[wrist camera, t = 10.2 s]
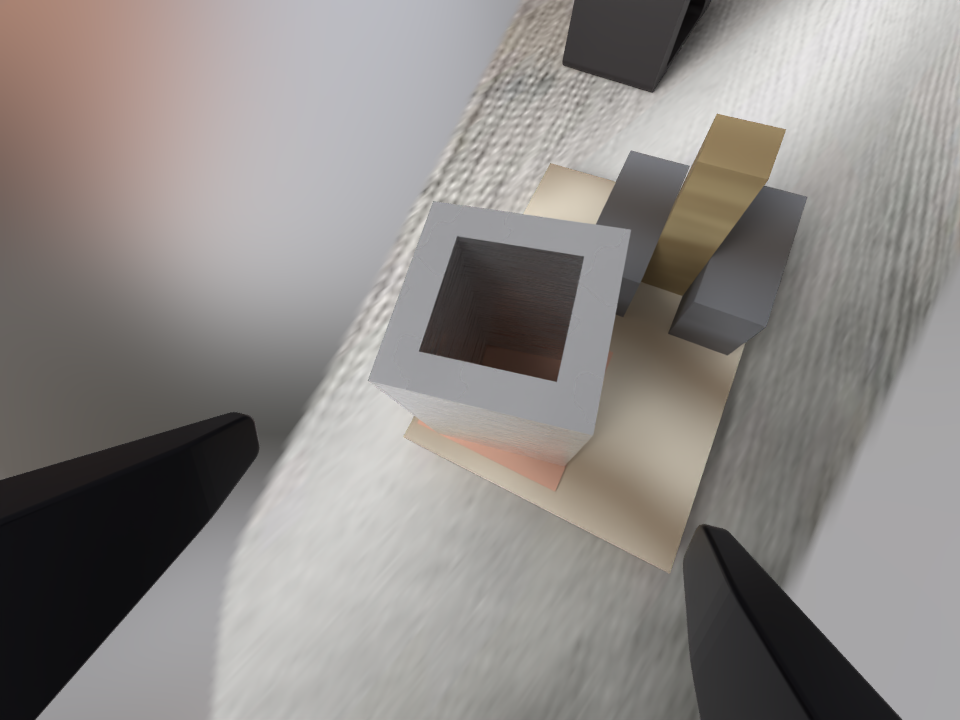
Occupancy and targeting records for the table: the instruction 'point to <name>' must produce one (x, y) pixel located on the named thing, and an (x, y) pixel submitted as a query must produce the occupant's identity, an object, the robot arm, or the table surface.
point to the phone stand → (629, 37)
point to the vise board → (656, 334)
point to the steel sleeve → (504, 328)
